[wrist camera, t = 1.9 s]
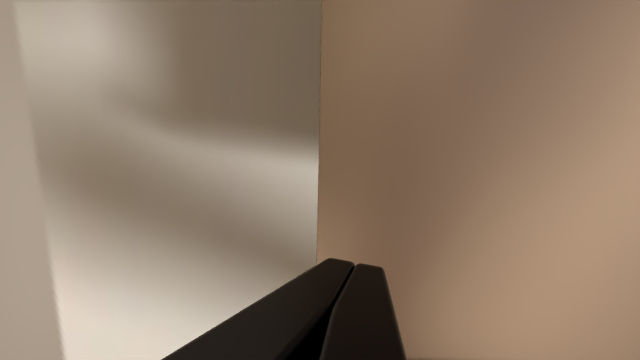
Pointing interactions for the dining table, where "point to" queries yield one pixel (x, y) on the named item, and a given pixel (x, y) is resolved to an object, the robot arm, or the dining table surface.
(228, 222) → the dining table surface
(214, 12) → the dining table surface
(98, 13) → the dining table surface
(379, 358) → the robot arm
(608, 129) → the balance board
